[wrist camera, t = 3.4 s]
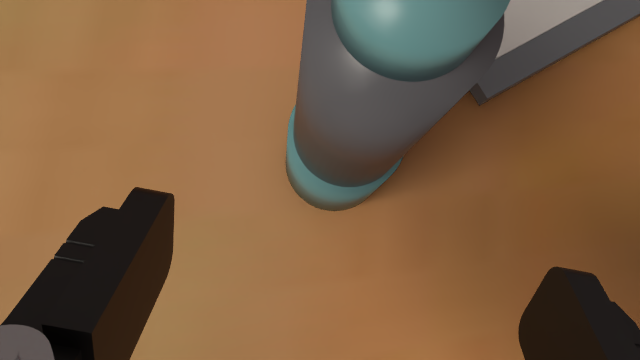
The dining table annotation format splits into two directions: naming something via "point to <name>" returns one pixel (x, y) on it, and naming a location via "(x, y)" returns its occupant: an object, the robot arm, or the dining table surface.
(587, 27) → the grey flat block
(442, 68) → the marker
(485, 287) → the dining table surface
